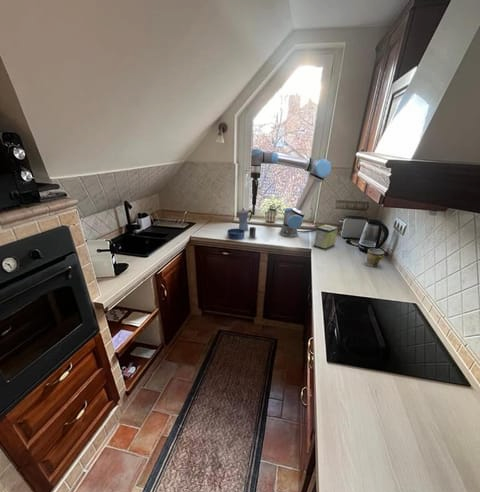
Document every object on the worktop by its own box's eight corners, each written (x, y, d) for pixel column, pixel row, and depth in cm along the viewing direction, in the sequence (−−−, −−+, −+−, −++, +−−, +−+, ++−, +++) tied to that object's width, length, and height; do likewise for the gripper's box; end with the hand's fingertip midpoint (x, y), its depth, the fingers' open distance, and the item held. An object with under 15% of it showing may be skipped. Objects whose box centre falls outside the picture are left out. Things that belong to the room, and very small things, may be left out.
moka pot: (234, 229, 235) (234, 207, 225) (248, 228, 241) (249, 206, 231) (238, 232, 228) (238, 210, 218) (253, 231, 234) (254, 208, 224)
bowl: (242, 235, 223) (243, 228, 220) (245, 240, 210) (245, 233, 207) (226, 235, 221) (226, 228, 218) (228, 241, 209) (228, 233, 206)
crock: (254, 237, 219) (255, 226, 214) (255, 239, 214) (256, 228, 210) (248, 237, 218) (249, 227, 214) (249, 239, 214) (250, 228, 209)
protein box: (334, 245, 206) (338, 226, 199) (324, 250, 197) (329, 230, 189) (322, 242, 213) (326, 224, 205) (313, 246, 203) (316, 227, 195)
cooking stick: (254, 214, 207) (255, 191, 198) (254, 215, 206) (256, 192, 196) (251, 214, 207) (253, 191, 198) (252, 215, 205) (253, 192, 196)
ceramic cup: (361, 261, 180) (365, 248, 175) (374, 261, 181) (378, 248, 176) (370, 269, 169) (375, 256, 164) (385, 269, 170) (390, 255, 165)
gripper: (249, 170, 196) (247, 202, 208) (252, 173, 183) (250, 206, 195) (258, 171, 197) (256, 202, 209) (262, 173, 184) (260, 206, 196)
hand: (253, 204), depth 202 cm, fingers closed on cooking stick, 2 cm apart
